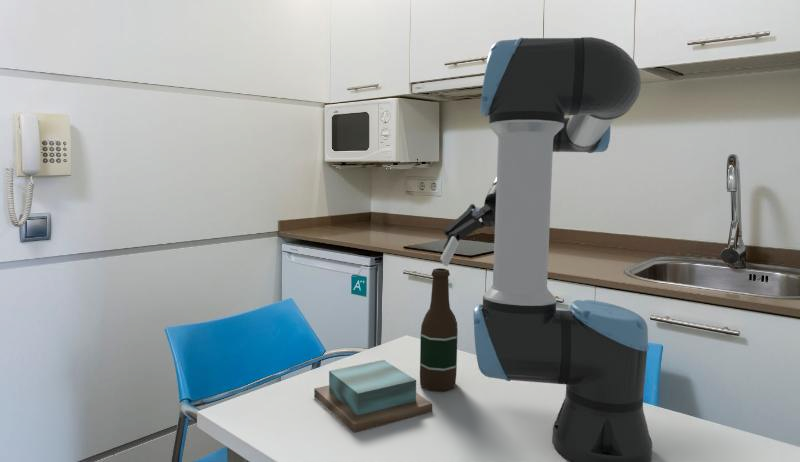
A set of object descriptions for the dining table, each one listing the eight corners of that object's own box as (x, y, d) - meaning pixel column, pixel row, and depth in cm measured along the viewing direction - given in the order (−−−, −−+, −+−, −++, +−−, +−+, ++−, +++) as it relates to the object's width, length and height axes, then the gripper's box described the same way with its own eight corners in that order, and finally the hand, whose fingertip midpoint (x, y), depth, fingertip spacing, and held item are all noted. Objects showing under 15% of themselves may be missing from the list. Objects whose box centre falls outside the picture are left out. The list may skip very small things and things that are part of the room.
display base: (432, 411, 104) (432, 382, 103) (354, 432, 96) (354, 401, 95) (385, 379, 119) (386, 354, 118) (314, 395, 110) (314, 368, 109)
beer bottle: (463, 382, 118) (466, 268, 114) (446, 395, 111) (449, 275, 108) (430, 374, 122) (433, 264, 119) (411, 386, 115) (414, 270, 112)
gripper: (561, 208, 126) (528, 285, 117) (465, 201, 142) (429, 269, 132) (552, 184, 122) (517, 263, 112) (454, 180, 137) (416, 249, 127)
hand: (469, 266), depth 122 cm, fingers open, 13 cm apart
